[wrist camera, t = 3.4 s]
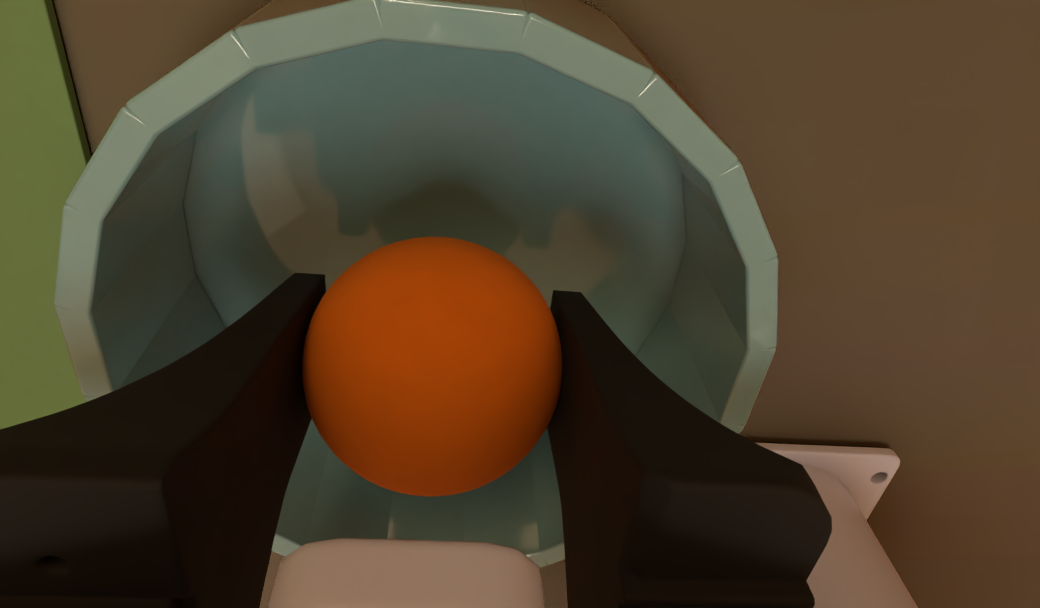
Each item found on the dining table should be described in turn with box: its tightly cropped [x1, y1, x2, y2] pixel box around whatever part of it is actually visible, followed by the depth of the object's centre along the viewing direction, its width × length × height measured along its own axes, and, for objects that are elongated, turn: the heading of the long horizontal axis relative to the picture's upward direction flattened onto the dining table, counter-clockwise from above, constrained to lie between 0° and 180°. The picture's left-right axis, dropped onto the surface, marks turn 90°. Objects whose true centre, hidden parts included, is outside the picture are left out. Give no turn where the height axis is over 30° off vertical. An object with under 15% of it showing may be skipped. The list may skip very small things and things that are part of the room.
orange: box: [302, 237, 562, 496], centre depth 13 cm, size 5×5×5 cm
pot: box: [54, 0, 778, 568], centre depth 15 cm, size 13×13×5 cm
